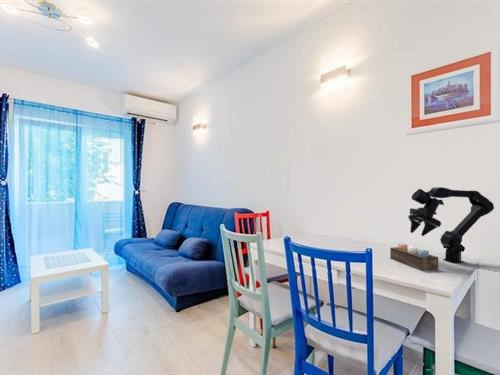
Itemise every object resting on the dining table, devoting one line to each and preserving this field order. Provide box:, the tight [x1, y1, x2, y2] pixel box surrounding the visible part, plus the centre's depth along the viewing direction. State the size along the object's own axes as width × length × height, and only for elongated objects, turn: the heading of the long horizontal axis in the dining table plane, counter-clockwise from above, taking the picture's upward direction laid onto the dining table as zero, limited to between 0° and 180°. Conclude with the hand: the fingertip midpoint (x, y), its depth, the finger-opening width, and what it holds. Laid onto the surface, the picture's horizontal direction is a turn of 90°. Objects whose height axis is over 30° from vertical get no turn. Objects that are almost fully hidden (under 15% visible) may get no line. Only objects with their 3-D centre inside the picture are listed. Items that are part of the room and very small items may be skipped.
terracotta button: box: [397, 243, 408, 250], centre depth 144 cm, size 4×4×5 cm
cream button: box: [407, 246, 419, 254], centre depth 137 cm, size 4×4×5 cm
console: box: [389, 246, 439, 271], centre depth 137 cm, size 9×22×6 cm, turn 9°
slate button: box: [418, 249, 430, 257], centre depth 130 cm, size 4×4×5 cm
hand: (416, 234), depth 142 cm, fingers open, 9 cm apart
